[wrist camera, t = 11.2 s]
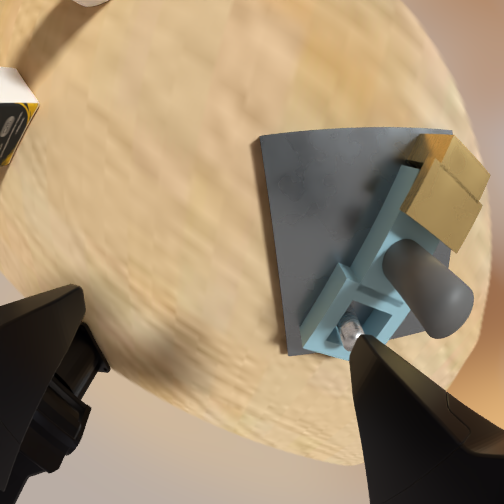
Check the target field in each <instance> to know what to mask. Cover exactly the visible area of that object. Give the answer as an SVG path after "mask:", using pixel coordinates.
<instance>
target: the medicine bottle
mask: <svg viewBox="0 0 504 504" xmlns="http://www.w3.org/2000/svg"><path fill="white" fill-rule="evenodd" d="M38 107H39V101H38V100H37V99H36V97H35V96H34V94H33V93H32V92H31V90H30V89H29V87H28V86H27V84H26V83H25V81H24V80H23V78H22V77H21V75H20V74H19V72H18V71H17V69H15V68H9V67H0V166H4V165H8V164H9V163H10V161H11V158H12V156H13V154H14V152H15V150H16V148H17V146H18V144H19V141H20V139H21V137H22V136H23V134H24V132H25V130H26V128H27V126H28V124H29V122H30V121H31V119H32V117H33V115H34V114H35V112H36V110H37V108H38Z"/></svg>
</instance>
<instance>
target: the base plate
mask: <svg viewBox="0 0 504 504" xmlns="http://www.w3.org/2000/svg"><path fill="white" fill-rule="evenodd" d="M259 137H260V143H261V149H262V156H263V163H264V169H265V176H266V183H267V190H268V197H269V204H270V211H271V218H272V225H273V233H274V240H275V248H276V256H277V263H278V271H279V279H280V288H281V296H282V304H283V313H284V322H285V331H286V340H287V349H288V356H295V355H303V354H311V353H318V352H314V351H311V350H307V349H304V348H303V347H302V340H301V334H300V326H301V325H302V323H303V321H304V320H305V318H306V317H307V315H308V313H309V312H310V310H311V308H312V307H313V305H314V303H315V302H316V300H317V298H318V297H319V295H320V293H321V292H322V290H323V288H324V287H325V285H326V283H327V281H328V280H329V278H330V276H331V274H332V273H333V271H334V269H335V267H336V265H337V264H338V263H341V264H343V265H345V266H348V267H351V265H352V263H353V261H354V259H355V258H356V256H357V254H358V252H359V250H360V249H361V247H362V245H363V243H364V241H365V239H366V237H367V236H368V234H369V232H370V230H371V228H372V226H373V224H374V222H375V220H376V218H377V216H378V214H379V212H380V210H381V208H382V206H383V204H384V202H385V200H386V198H387V196H388V194H389V191H390V189H391V187H392V185H393V183H394V181H395V178H396V176H397V174H398V172H399V169H400V167H401V165H404V166H408V167H413V168H417V169H420V172H419V174H418V175H417V177H416V179H415V181H414V183H413V185H412V187H411V189H410V191H409V192H408V194H407V196H406V198H405V200H404V201H403V203H402V205H401V207H400V209H399V210H401V211H402V212H403V213H405V214H406V215H407V216H409V217H410V218H411V219H413V220H414V221H416V222H417V223H418V224H419V225H421V226H422V227H423V228H425V229H426V230H427V231H429V232H430V233H431V234H432V235H434V236H435V237H436V238H437V239H439V240H440V242H439V244H438V246H437V248H436V249H435V251H434V253H433V256H434V257H435V258H436V259H438V260H439V261H440V262H441V263H442V264H443V265H445V266H446V267H447V268H448V267H449V260H450V252H451V250H452V251H454V252H455V253H456V254H457V252H458V251H459V249H460V247H461V245H462V244H463V242H464V240H465V238H466V237H467V235H468V233H469V231H470V229H471V227H472V226H473V224H474V222H475V220H476V218H477V216H478V214H479V212H480V210H481V208H482V204H481V203H480V202H479V200H480V198H481V196H482V193H483V191H484V189H485V187H486V185H487V182H488V180H489V178H490V174H489V173H488V172H487V170H486V169H485V168H484V167H483V166H482V164H481V163H480V162H479V161H478V160H477V159H476V158H475V156H474V155H473V154H472V153H471V152H470V151H469V150H468V149H467V148H466V147H465V146H464V145H463V144H462V143H461V141H460V140H459V139H458V138H457V137H456V136H455V135H453V133H452V130H441V129H427V128H401V127H364V128H338V129H322V130H309V131H298V132H288V133H279V134H271V135H264V136H259ZM351 305H352V307H353V309H354V312H355V314H356V316H357V318H358V320H359V323H360V325H361V327H362V326H363V324H364V323H365V321H366V320H367V319H368V317H369V316H370V314H371V313H372V311H373V310H374V308H373V307H370V306H367V305H365V304H362V303H359V302H357V301H354V300H353V301H352V302H351ZM336 326H337V325H336ZM423 331H425V329H424V328H423V326H422V325H421V323H420V322H419V321H418V319H417V318H416V316H415V315H414V314H413V312H412V311H411V310H410V311H409V313H408V314H407V316H406V317H405V318H404V320H403V321H402V323H401V324H400V325H399V327H398V328H397V330H396V331H395V332H394V334H393V335H392V336H391V338H390V339H394V338H399V337H403V336H407V335H411V334H415V333H419V332H423ZM390 339H389V340H390Z"/></svg>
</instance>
